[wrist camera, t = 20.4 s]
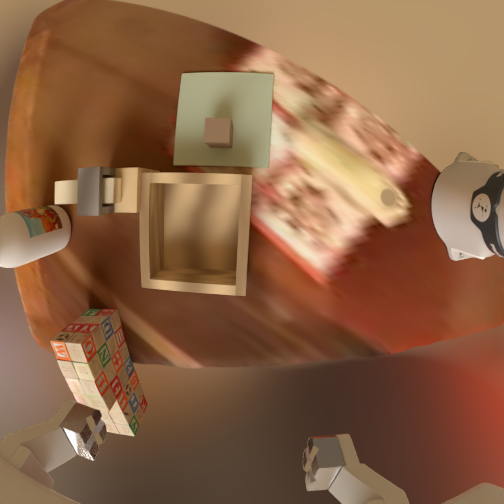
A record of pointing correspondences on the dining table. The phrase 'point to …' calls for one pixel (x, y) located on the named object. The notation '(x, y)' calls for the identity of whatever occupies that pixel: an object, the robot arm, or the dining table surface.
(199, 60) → the dining table surface
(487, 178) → the robot arm
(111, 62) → the dining table surface
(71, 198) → the wooden block
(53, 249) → the milk bottle
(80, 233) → the dining table surface
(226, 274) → the wooden cabinet
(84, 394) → the stack of blocks
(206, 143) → the lid
